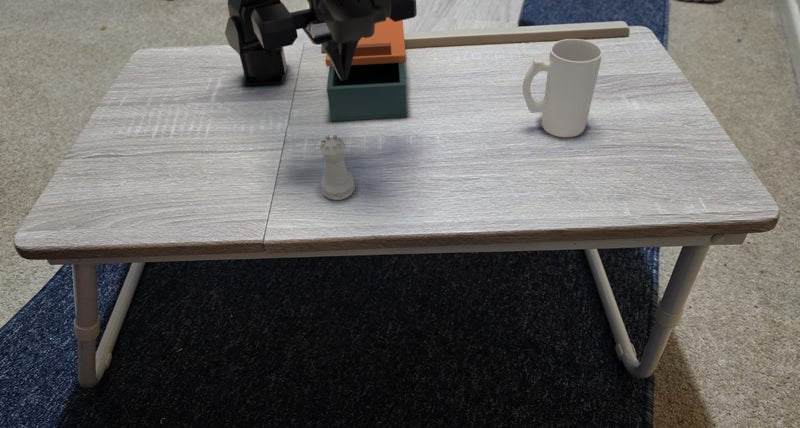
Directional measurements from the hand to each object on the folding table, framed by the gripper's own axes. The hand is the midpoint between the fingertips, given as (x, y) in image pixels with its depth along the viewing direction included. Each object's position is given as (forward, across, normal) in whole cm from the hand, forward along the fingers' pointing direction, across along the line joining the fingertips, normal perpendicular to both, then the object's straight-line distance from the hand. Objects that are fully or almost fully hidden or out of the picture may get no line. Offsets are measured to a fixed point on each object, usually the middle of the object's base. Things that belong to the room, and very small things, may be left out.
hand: (343, 78), depth 73 cm
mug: (+12, +29, -6) cm, 32 cm away
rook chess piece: (+12, -4, -6) cm, 15 cm away
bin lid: (+6, +11, +24) cm, 27 cm away
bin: (+12, +9, +17) cm, 22 cm away
